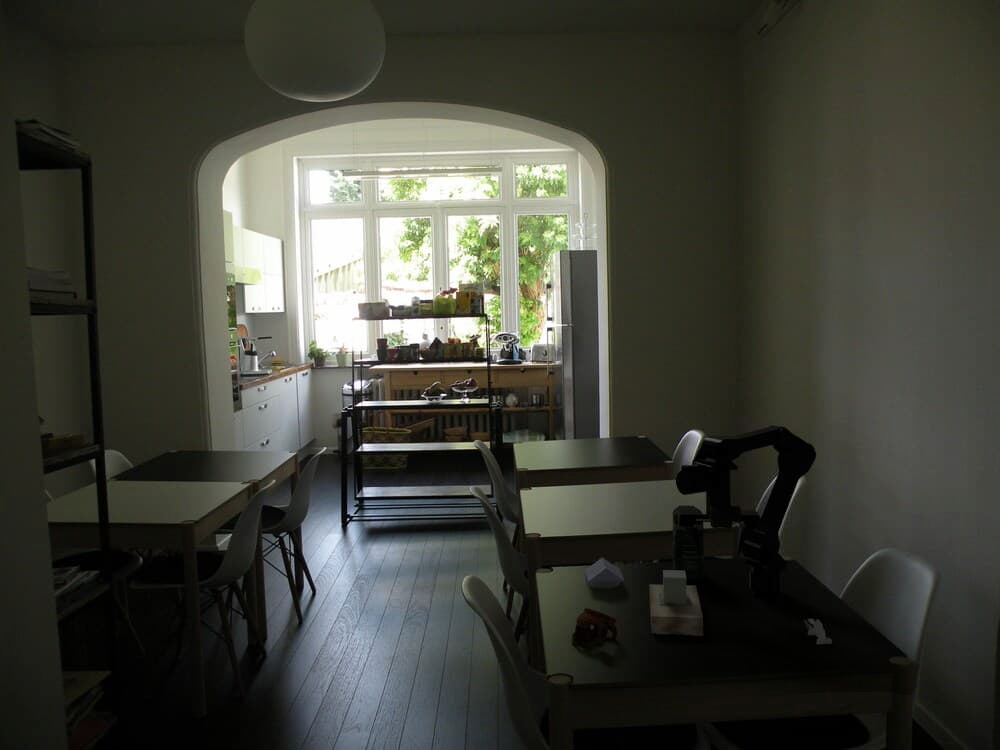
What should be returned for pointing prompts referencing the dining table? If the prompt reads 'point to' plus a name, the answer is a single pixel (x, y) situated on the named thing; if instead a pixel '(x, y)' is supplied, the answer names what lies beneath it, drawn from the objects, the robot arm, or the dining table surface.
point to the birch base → (675, 613)
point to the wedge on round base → (603, 575)
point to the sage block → (674, 586)
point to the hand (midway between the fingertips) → (718, 553)
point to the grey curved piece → (817, 631)
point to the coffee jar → (688, 547)
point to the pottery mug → (596, 635)
